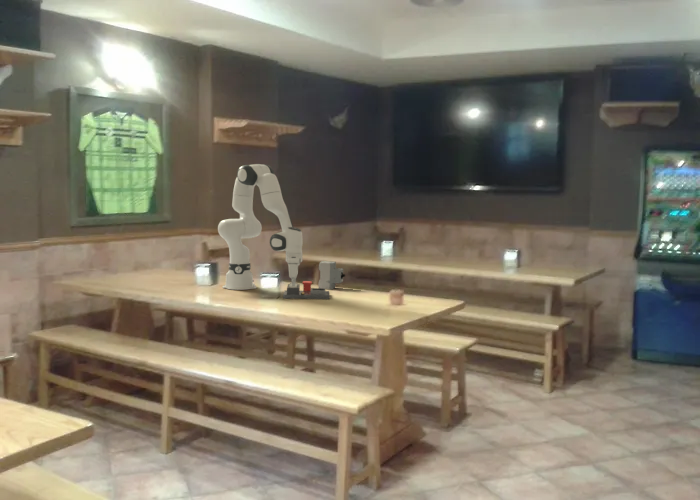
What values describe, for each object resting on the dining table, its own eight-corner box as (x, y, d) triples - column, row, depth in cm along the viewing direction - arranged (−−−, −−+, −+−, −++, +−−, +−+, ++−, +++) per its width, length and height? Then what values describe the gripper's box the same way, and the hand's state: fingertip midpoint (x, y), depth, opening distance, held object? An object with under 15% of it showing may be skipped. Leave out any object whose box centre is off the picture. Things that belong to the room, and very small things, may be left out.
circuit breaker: (342, 290, 387) (343, 263, 386) (318, 288, 390) (318, 262, 388) (345, 288, 394) (346, 262, 393) (321, 286, 397) (322, 261, 396)
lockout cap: (302, 291, 377) (302, 281, 376) (311, 292, 377) (311, 281, 377) (302, 293, 372) (302, 282, 371) (311, 293, 372) (311, 282, 372)
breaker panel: (284, 294, 368) (284, 283, 368) (329, 294, 369) (329, 284, 369) (283, 298, 354) (283, 287, 354) (329, 299, 355) (329, 288, 355)
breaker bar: (290, 288, 366) (290, 282, 366) (297, 288, 367) (297, 283, 366) (289, 291, 355) (289, 286, 355) (296, 291, 356) (296, 286, 355)
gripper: (288, 256, 369) (288, 281, 371) (287, 260, 349) (286, 287, 350) (300, 256, 370) (300, 281, 371) (299, 260, 349) (299, 287, 351)
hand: (293, 284), depth 361 cm, fingers open, 8 cm apart
